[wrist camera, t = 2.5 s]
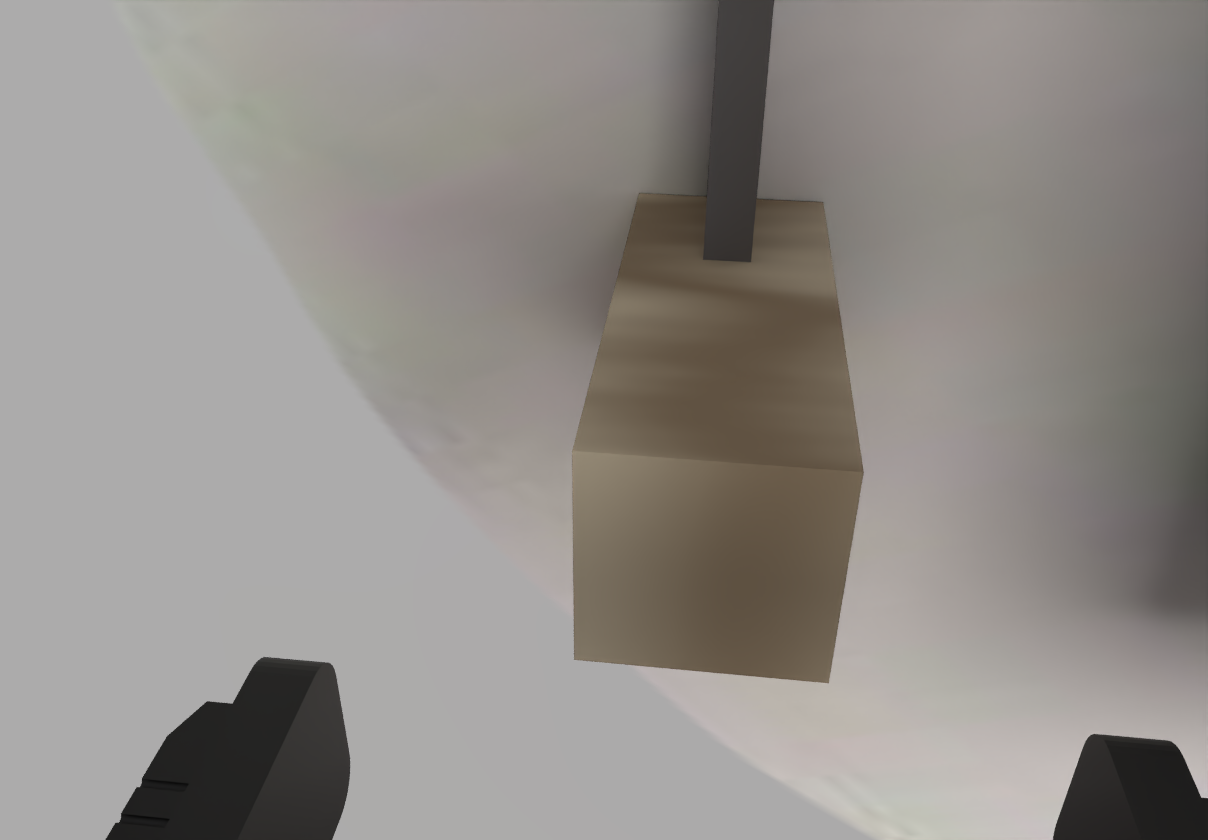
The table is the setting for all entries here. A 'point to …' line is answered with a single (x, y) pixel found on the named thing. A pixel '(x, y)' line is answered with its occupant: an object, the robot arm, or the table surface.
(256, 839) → the robot arm
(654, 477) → the blade tool
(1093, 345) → the table surface
